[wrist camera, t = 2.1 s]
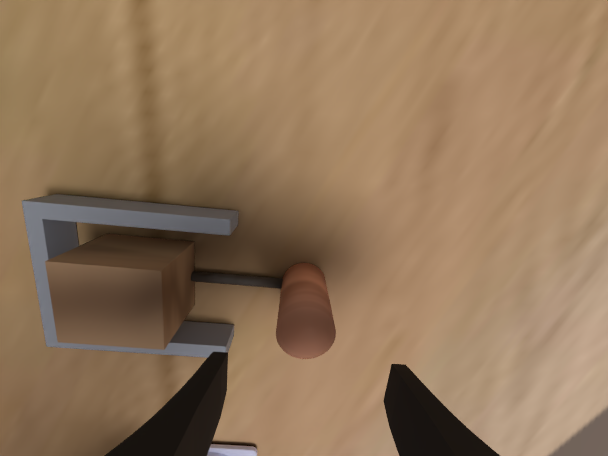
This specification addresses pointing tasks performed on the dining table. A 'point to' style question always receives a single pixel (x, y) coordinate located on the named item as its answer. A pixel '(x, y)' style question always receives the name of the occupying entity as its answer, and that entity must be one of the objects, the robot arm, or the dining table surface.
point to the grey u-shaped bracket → (70, 209)
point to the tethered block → (169, 295)
